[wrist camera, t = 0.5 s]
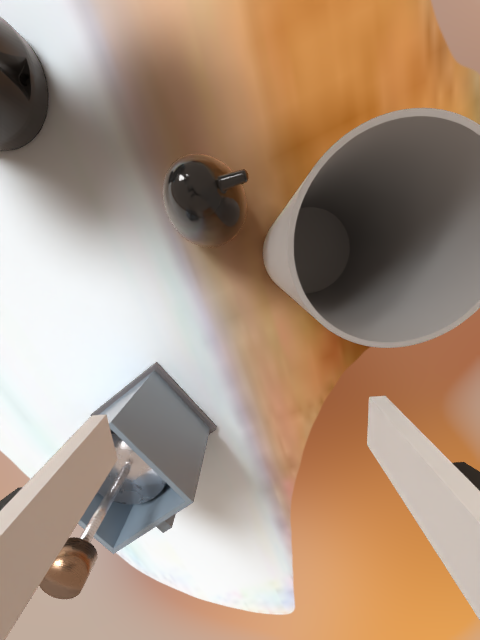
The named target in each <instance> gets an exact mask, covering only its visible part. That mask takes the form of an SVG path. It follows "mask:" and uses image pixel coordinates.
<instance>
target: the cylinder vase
mask: <svg viewBox="0 0 480 640" xmlns="http://www.w3.org/2000/svg"><path fill="white" fill-rule="evenodd" d="M263 261H264V265H265V268H266V271H267V273H268V275H269V276H270V278H271V279H272V280H273V282H274V283H275V284H277V285H278V286H279V287H280V288H281V289H282V290H283V291H284V292H286V293H287V294H288V295H289V296H290V297H291V298H292V299H294V300H295V301H296V302H297V303H298V304H299V305H300V306H301V307H303V308H304V309H305V310H306V311H307V312H308V313H309V314H311V315H312V316H313V317H314V318H315V319H316V320H317V321H318V322H320V323H321V324H322V325H323V326H324V327H326V328H327V329H328V330H330V331H331V332H333V333H334V334H336V335H338V336H340V337H342V338H344V339H346V340H348V341H351V342H354V343H357V344H361V345H365V346H370V347H379V348H394V347H404V346H410V345H415V344H419V343H422V342H425V341H428V340H431V339H433V338H436V337H438V336H440V335H442V334H444V333H446V332H448V331H450V330H452V329H453V328H455V327H456V326H458V325H459V324H461V323H462V322H464V321H465V320H466V319H467V318H469V317H470V316H471V315H472V314H473V313H475V312H476V311H477V310H478V309H479V308H480V125H479V124H477V123H476V122H474V121H472V120H470V119H468V118H466V117H464V116H462V115H459V114H456V113H453V112H450V111H446V110H441V109H433V108H412V109H404V110H399V111H394V112H390V113H387V114H384V115H381V116H378V117H376V118H374V119H371V120H369V121H367V122H365V123H363V124H361V125H360V126H358V127H356V128H355V129H353V130H352V131H350V132H349V133H347V134H346V135H345V136H343V137H342V138H341V139H340V140H338V141H337V142H336V143H335V144H334V145H333V146H332V147H331V148H330V149H329V150H328V151H327V152H326V153H325V154H324V155H323V156H322V157H321V158H320V160H319V161H318V162H317V163H316V165H315V166H314V168H313V169H312V170H311V172H310V173H309V174H308V176H307V177H306V179H305V180H304V181H303V183H302V184H301V186H300V187H299V188H298V190H297V191H296V193H295V194H294V195H293V197H292V198H291V200H290V201H289V202H288V204H287V205H286V207H285V208H284V209H283V211H282V212H281V214H280V215H279V216H278V218H277V219H276V221H275V222H274V223H273V225H272V226H271V228H270V229H269V231H268V233H267V235H266V238H265V241H264V245H263Z"/></svg>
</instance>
